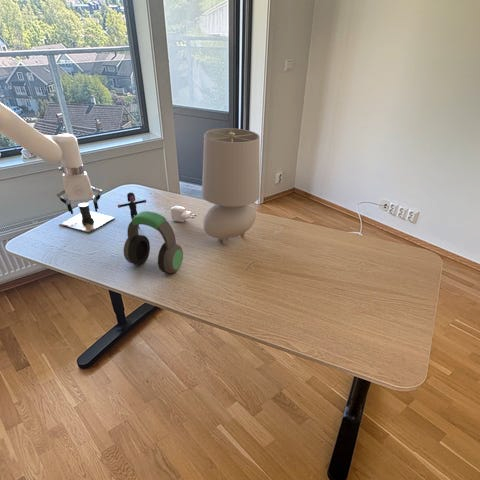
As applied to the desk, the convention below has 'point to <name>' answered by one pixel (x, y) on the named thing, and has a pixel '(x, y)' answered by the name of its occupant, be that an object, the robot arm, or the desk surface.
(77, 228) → the board
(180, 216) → the power adapter
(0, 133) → the robot arm
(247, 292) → the desk surface
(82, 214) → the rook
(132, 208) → the figurine
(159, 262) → the headphones
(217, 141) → the table lamp
